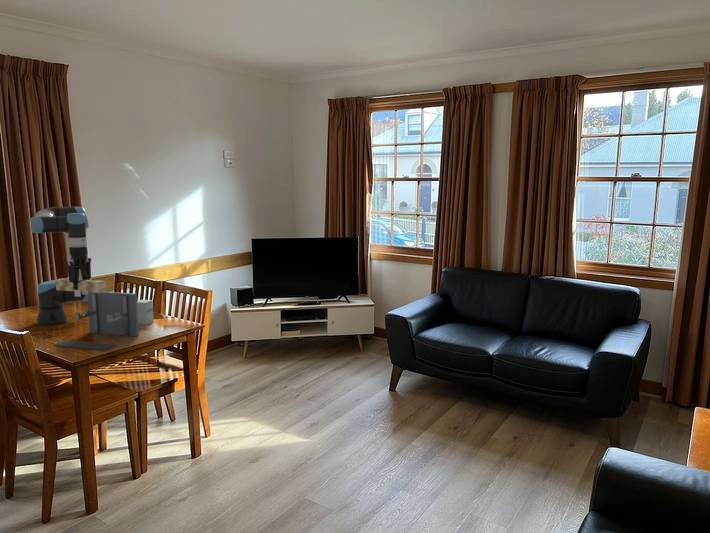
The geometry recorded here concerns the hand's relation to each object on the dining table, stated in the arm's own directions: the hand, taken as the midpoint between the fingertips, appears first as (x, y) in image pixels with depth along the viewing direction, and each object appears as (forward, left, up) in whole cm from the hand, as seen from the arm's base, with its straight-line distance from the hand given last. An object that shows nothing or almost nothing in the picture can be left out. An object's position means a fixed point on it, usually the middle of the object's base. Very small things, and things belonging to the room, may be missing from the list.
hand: (81, 295), depth 247 cm
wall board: (0, +21, -25) cm, 33 cm away
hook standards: (0, +13, -25) cm, 28 cm away
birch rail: (0, 0, +2) cm, 2 cm away
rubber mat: (0, 0, -25) cm, 25 cm away
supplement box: (+2, +44, -25) cm, 51 cm away
